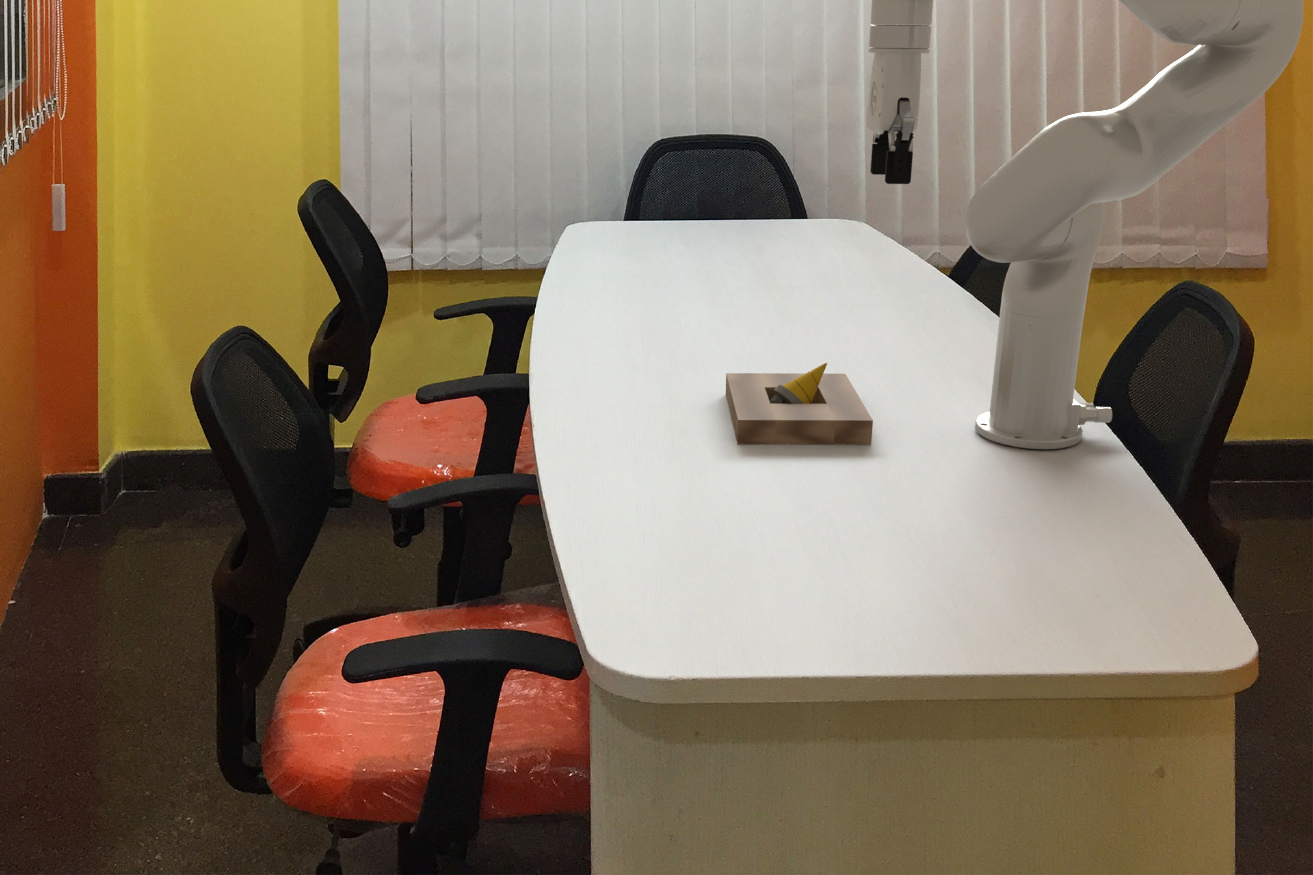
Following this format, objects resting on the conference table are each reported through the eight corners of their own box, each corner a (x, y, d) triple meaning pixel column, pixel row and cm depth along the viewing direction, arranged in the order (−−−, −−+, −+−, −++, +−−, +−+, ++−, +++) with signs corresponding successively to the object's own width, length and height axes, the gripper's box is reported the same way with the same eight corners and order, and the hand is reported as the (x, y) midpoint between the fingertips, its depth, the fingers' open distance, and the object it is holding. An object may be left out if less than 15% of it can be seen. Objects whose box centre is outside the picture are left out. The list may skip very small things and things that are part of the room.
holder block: (843, 395, 162) (845, 373, 161) (871, 444, 143) (873, 420, 142) (725, 394, 162) (726, 373, 161) (737, 443, 143) (738, 420, 142)
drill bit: (763, 415, 155) (814, 358, 156) (793, 440, 153) (845, 382, 153) (754, 401, 150) (807, 342, 151) (786, 426, 148) (839, 367, 149)
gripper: (857, 39, 159) (849, 171, 165) (883, 41, 143) (873, 187, 149) (914, 40, 159) (904, 171, 165) (946, 42, 143) (934, 187, 149)
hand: (889, 178), depth 157 cm, fingers open, 9 cm apart
